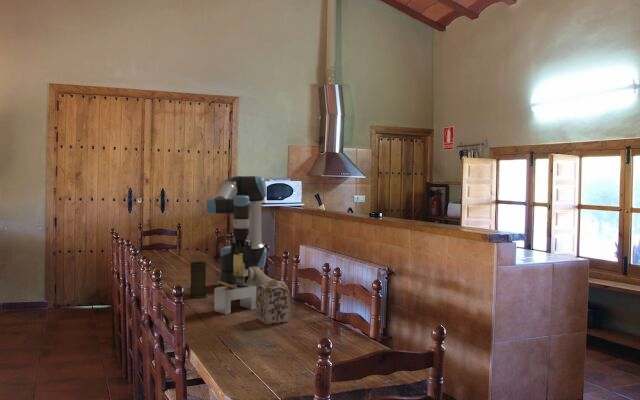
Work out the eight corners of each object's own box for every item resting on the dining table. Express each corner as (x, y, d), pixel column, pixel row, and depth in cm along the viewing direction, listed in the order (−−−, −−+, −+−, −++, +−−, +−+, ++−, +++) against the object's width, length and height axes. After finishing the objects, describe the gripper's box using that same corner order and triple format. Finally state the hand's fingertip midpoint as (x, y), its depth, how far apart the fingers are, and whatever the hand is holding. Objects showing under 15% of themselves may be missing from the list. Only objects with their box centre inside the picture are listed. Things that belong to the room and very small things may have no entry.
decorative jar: (265, 324, 240) (265, 283, 239) (255, 318, 250) (256, 279, 249) (290, 322, 245) (291, 281, 244) (280, 315, 255) (280, 277, 255)
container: (202, 298, 288) (202, 264, 287) (186, 297, 289) (186, 263, 289) (209, 295, 296) (209, 262, 296) (193, 294, 298) (194, 261, 297)
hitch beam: (244, 305, 276) (245, 283, 275) (256, 308, 269) (256, 285, 269) (214, 310, 263) (214, 287, 262) (225, 314, 256) (225, 290, 256)
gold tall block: (242, 289, 273) (242, 253, 272) (250, 291, 268) (251, 254, 267) (230, 291, 268) (230, 254, 267) (238, 293, 263) (239, 255, 262)
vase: (287, 269, 304) (239, 259, 294) (302, 269, 285) (251, 258, 275) (280, 309, 300) (230, 300, 290) (294, 312, 280) (242, 302, 270)
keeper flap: (228, 287, 266) (228, 284, 266) (234, 288, 262) (235, 286, 262) (216, 282, 261) (217, 279, 261) (223, 284, 257) (224, 281, 257)
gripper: (222, 226, 271) (222, 273, 272) (247, 229, 257) (247, 278, 258) (235, 225, 276) (234, 271, 277) (260, 228, 262) (259, 276, 263)
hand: (240, 274), depth 267 cm, fingers closed on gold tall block, 7 cm apart
